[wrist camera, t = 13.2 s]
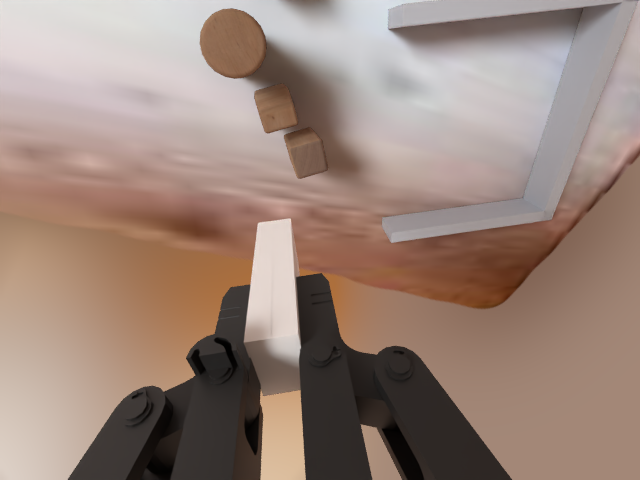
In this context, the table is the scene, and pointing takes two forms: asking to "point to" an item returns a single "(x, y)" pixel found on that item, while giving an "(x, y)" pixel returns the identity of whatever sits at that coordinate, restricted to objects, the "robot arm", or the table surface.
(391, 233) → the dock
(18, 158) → the table surface
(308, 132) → the wooden block set
